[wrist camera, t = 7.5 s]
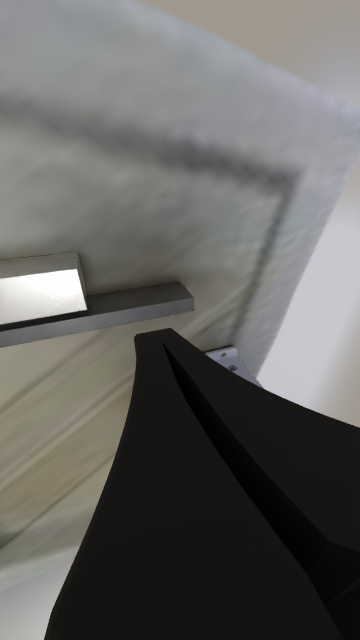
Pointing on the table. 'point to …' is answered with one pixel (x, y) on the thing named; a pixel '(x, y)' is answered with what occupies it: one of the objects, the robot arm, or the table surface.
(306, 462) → the robot arm
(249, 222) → the table surface
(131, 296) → the bracket
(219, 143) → the table surface
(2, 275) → the bar
